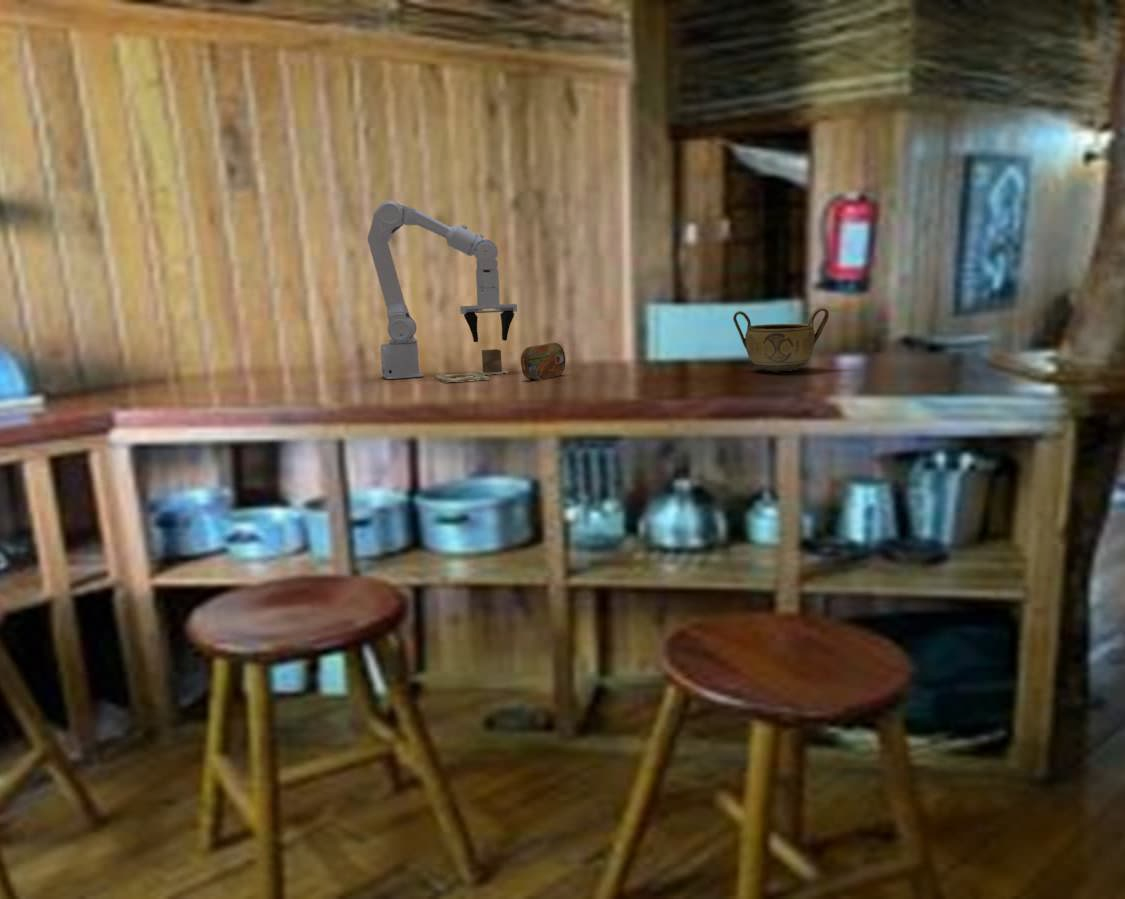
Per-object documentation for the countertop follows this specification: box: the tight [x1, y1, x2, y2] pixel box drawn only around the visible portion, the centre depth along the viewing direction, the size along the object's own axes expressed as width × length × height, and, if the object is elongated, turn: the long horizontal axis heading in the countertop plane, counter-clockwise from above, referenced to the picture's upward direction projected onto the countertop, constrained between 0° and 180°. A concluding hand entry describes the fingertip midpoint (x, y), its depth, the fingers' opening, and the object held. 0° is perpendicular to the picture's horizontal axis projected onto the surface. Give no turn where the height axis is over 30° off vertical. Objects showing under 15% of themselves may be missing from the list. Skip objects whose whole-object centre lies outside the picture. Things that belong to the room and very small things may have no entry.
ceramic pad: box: [475, 369, 510, 376], centre depth 256 cm, size 7×7×1 cm
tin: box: [520, 342, 566, 381], centre depth 241 cm, size 15×3×8 cm, turn 143°
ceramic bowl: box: [732, 307, 830, 373], centre depth 236 cm, size 22×17×15 cm
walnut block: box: [481, 348, 503, 373], centre depth 255 cm, size 4×4×6 cm
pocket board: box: [434, 372, 490, 384], centre depth 245 cm, size 11×12×1 cm
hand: (490, 341), depth 254 cm, fingers open, 7 cm apart
